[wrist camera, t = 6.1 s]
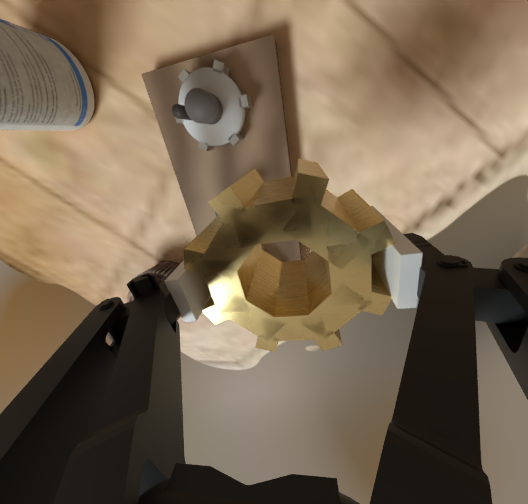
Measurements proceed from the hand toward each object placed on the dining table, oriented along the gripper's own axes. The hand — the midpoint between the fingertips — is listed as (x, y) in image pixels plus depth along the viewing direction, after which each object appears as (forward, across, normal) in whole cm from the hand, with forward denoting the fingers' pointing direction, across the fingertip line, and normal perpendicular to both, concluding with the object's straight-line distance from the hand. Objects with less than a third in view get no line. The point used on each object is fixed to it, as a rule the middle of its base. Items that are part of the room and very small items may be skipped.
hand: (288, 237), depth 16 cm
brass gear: (0, 0, 0) cm, 0 cm away
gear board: (+16, -8, 0) cm, 18 cm away
